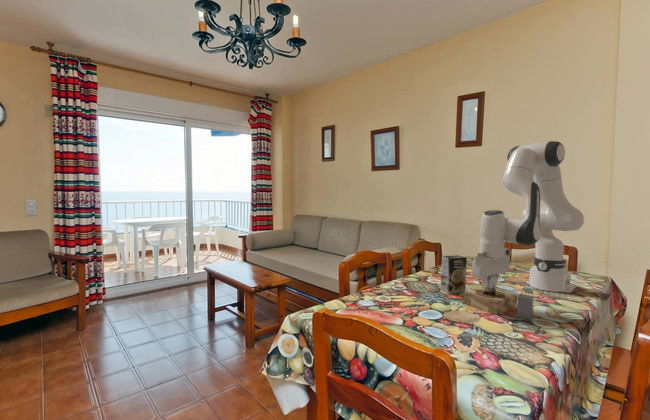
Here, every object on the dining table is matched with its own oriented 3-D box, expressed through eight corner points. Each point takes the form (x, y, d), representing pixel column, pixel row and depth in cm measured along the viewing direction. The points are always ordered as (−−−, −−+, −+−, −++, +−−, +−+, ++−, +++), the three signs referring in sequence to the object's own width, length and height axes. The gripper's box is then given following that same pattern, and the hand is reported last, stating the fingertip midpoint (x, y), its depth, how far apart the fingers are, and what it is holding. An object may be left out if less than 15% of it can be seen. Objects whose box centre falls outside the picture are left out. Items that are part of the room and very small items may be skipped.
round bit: (487, 292, 133) (488, 272, 133) (497, 295, 129) (498, 275, 129) (481, 293, 131) (482, 274, 130) (491, 296, 127) (492, 276, 127)
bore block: (483, 298, 140) (483, 286, 140) (516, 308, 128) (517, 295, 128) (463, 303, 133) (463, 291, 132) (496, 315, 121) (497, 301, 121)
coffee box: (448, 294, 145) (449, 258, 144) (440, 289, 151) (441, 255, 150) (466, 292, 148) (467, 257, 147) (456, 288, 154) (457, 254, 153)
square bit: (518, 314, 121) (519, 293, 121) (532, 317, 118) (533, 296, 118) (516, 318, 118) (517, 296, 117) (531, 321, 115) (532, 299, 114)
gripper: (483, 255, 121) (482, 291, 122) (513, 250, 132) (511, 283, 133) (468, 252, 126) (467, 287, 127) (498, 247, 137) (496, 280, 138)
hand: (490, 285), depth 130 cm, fingers closed on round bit, 4 cm apart
